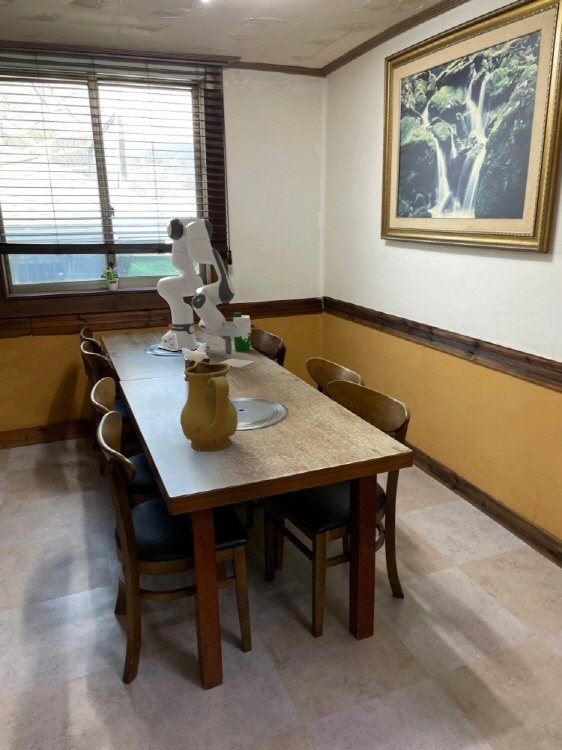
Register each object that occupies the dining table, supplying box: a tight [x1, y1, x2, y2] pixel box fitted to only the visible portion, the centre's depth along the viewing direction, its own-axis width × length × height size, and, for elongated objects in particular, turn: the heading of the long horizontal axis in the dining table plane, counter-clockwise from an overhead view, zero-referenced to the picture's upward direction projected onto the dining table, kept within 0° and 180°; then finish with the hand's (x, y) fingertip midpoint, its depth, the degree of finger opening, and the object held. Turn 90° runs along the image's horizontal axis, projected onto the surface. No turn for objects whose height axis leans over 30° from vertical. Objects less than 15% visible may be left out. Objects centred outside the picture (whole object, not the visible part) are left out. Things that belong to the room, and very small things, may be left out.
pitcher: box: [179, 361, 238, 452], centre depth 158 cm, size 17×19×25 cm
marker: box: [224, 336, 233, 355], centre depth 254 cm, size 3×3×14 cm
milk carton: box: [232, 311, 252, 352], centre depth 280 cm, size 9×9×20 cm
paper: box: [219, 358, 255, 369], centre depth 255 cm, size 14×12×1 cm
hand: (228, 338), depth 255 cm, fingers closed on marker, 3 cm apart
